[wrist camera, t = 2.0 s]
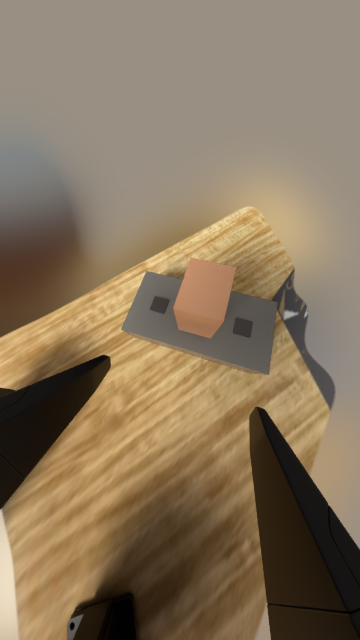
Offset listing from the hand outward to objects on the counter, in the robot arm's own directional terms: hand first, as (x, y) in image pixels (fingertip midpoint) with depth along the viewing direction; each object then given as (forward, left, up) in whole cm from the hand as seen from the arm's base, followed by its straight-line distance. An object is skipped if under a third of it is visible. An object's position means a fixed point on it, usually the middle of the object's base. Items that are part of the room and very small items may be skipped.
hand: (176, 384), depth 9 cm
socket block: (+6, -4, -13) cm, 15 cm away
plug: (+6, -4, -13) cm, 15 cm away
